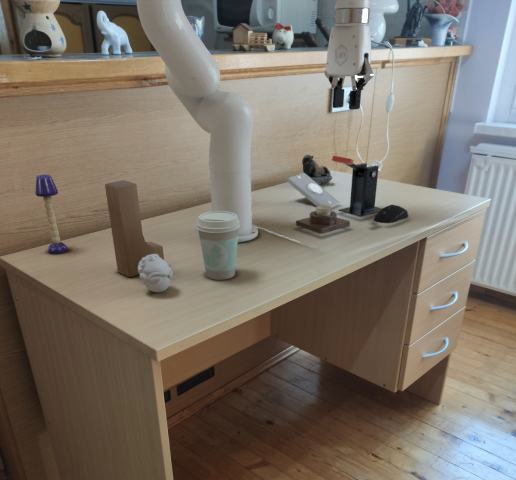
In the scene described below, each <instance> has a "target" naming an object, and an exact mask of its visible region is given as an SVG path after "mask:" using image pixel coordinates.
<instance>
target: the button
mask: <svg viewBox="0 0 516 480" xmlns="http://www.w3.org/2000/svg"><path fill="white" fill-rule="evenodd" d="M315 211H316V215H318V216H330V215H331V211H332V206H327V205H319V206H316V207H315Z"/></svg>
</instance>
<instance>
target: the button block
mask: <svg viewBox="0 0 516 480" xmlns="http://www.w3.org/2000/svg"><path fill="white" fill-rule="evenodd" d="M350 224H351V220H347V219H344V218H341V217H338V214H337V213H336V212H335V211H332V210H331V215H330V216H318V215H316V210H313V211H310V213H309V217H306V218H305V217H304V218H301V219H297V220H296V221H295V226H296V227H300V228H301V229H302V228H303V229H304V230H307V231H311V232H314V233H316V234H319V235H322V234H326V233H329V232H333V231H337V230H339V229H345V228H348V227H350V226H351V225H350Z"/></svg>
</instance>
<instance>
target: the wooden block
mask: <svg viewBox="0 0 516 480" xmlns="http://www.w3.org/2000/svg"><path fill="white" fill-rule="evenodd" d="M137 186H138V185H137V183H135V182H132V181H131V182H130V181H128V180H118V181H112V182H108V183H105V184H104V188H105V195H106V201H107V208H108V209H107V210H108V215H109V223H110V229H111V237H112V242H113V249H114V256H115V262H116V268H117V269H116V270H117V272H118V273H120V274H122V275H124V276H126V277H128V278H131V277H135V276H138V275H140V274H139V272H138V265H139V262H140V260H142V258H143V257H145V256H147V255H151V254H158V255H159V257H160V258H162V259H163V260H164V261H165V254H164V253H165V252H164V247H163V245H161V244H158V243H155V242H153V241H146V240H145V237H144V234H143V227H142V217H141V210H140V209H141V208H140V202H139V201H140V200H139V193H138V187H137Z"/></svg>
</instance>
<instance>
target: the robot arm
mask: <svg viewBox="0 0 516 480" xmlns="http://www.w3.org/2000/svg"><path fill="white" fill-rule="evenodd" d="M371 1H372V0H335V10H334V11H335V13H334V15H333V17H332V19H333V21H334V26H331V30H330V33H329V34H330V35H329V38H328V45H327V51H326V52H327V53H326V63H325V65H326V67H325V71H324V76H325V77H326V79H327V80H328V82H329V83H330V88H331V90H332V108H333V109H339V108H343V107H344V104H345V103H344V102H345V88H344V83H345V79H346V77H350V80H351V89H352V90H350V91H349V100H348V110H350V111H353V110H360V108H361V99H362V98H361V97H362V91H363V90H364V89H365V86H367V84H368V82H370V81H371V79H373V78H374V76H375V74H374V71H373V68H372V66H371V63H372V62H371V61H372V59H371V58H372V32H371V25H369V23H370V12H371ZM136 8H137V15H138V19H139V22H140V24H141V28H142V29H143V32H144V34H145V35H146V37H147V40H149V42H150V43H151V45H152V46H153V48H154V50H155V51H156V52H157V54H158V55H159V57H160V59H161V60H162V62H163V63H164V75H165V79H166V82H167V84H168V86H169V88H170V89H171V91H172V93H174V95H175V97H176V98H177V99H178V101H179V102H180V103H181V104H182V106H183V107H184V108H185V109H186V111H187V112H188V114H189V115H190V116H191V117H192V119H193V120H194V122H196V124H197V125H198V126H199V127H200V128H201V129H202V130H203V131H204V132H206V133H208V134H210V137H209V138H210V139H209V147H208V148H209V149H208V167H209V183H210V203H211V212H213V211H226V212H232V213H235V214H236V215H237V217H238V220H239V222H240V227H239V230H238V243H243V242H249V241H251V240H253V239H255V238H257V237H258V235H259V229H258V228H257V227H256V226H254V225H253V220H252V219H253V218H252V217H253V216H252V167H251V166H252V163H251V161H252V160H251V155H252V154H251V153H252V152H251V151H252V141H253V140H252V139H253V133H254V132H253V131H254V114H253V109H252V107H251V106H250V104H249V102H248V101H247V100H246V99H245V98H244V97H243V96H241V95H239V94H238V93H234V92H231V91H230V92H229V91H225V90H224V89H223V88H222V86H221V85H220V83H221V71H220V68H219V65H218V62H217V61H216V59H215V58H214V57H213V55H212V54H211V52H210V51H209V49H208V48H207V47H206V45H205V44H204V42H203V41H202V39H201V38H200V37H199V35H198V33H197V32H196V31H195V29H194V27H193V26H192V24H191V22H190V21H189V18H188V17H187V15H186V14H185V11H184V9H183V5H182V0H136ZM196 226H197V225H195V226H194V231H195V233H196V234H197V235H199V232H198V229H197V228H196Z"/></svg>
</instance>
